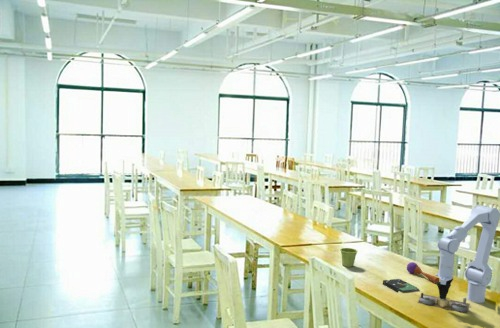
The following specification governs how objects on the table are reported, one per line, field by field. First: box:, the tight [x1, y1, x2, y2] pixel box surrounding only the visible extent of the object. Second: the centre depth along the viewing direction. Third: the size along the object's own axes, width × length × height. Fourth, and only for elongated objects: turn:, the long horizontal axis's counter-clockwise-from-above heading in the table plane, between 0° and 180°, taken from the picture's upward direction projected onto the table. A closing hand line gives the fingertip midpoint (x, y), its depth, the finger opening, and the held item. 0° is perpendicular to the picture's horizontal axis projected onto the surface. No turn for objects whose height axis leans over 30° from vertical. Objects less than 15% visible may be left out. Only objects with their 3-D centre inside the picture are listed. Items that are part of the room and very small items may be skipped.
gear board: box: [417, 292, 470, 314], centre depth 205 cm, size 13×20×5 cm, turn 61°
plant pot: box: [340, 247, 358, 268], centre depth 258 cm, size 9×9×9 cm
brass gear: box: [435, 295, 451, 309], centre depth 203 cm, size 6×6×3 cm
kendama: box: [406, 261, 440, 285], centre depth 244 cm, size 6×6×20 cm
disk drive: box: [382, 278, 420, 293], centre depth 225 cm, size 10×3×15 cm
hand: (443, 296), depth 203 cm, fingers open, 7 cm apart
